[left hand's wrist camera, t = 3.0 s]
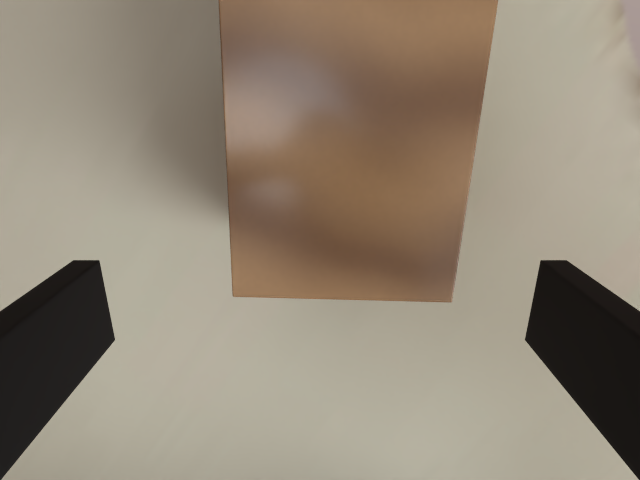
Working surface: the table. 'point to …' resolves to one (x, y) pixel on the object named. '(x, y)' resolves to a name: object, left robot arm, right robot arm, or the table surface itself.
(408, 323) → the table surface
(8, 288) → the table surface
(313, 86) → the cabinet
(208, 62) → the table surface
